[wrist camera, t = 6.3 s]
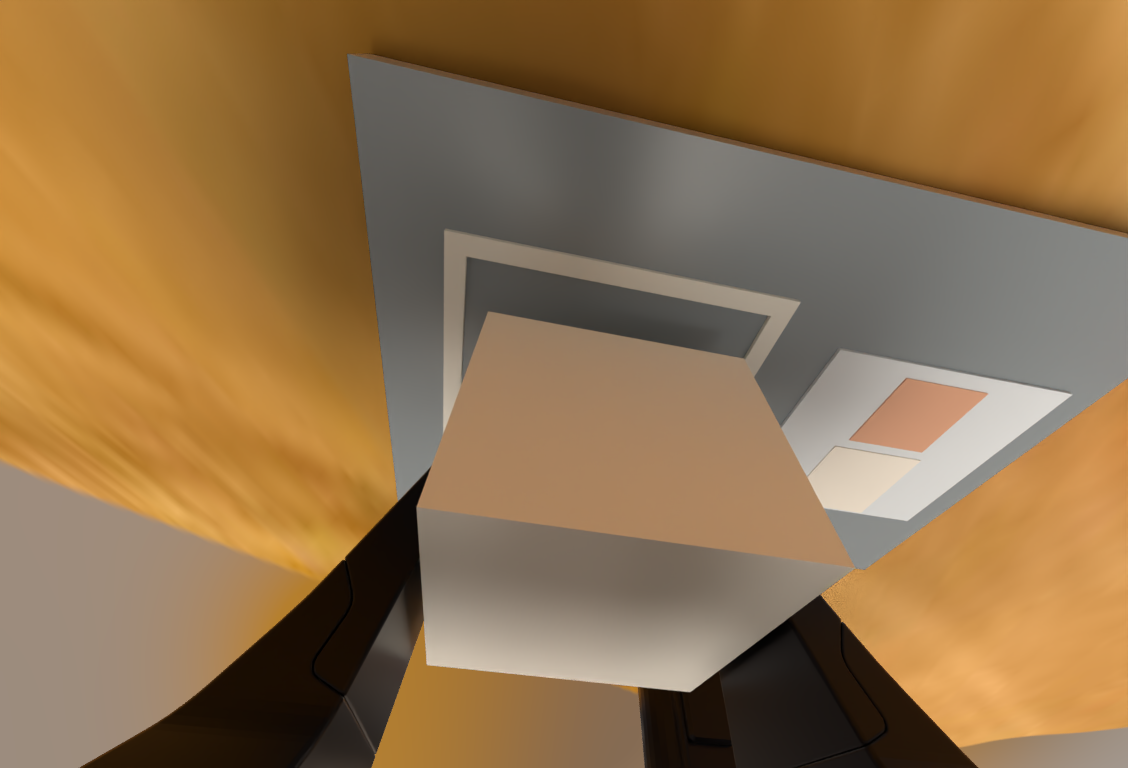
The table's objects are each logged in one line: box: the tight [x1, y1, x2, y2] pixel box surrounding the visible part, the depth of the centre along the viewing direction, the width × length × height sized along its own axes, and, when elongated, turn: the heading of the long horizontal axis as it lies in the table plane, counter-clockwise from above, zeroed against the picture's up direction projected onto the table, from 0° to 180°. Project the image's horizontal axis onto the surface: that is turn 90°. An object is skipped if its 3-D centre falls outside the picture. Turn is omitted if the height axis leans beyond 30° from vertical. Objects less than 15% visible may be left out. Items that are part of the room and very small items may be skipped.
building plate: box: [347, 54, 1128, 570], centre depth 13 cm, size 14×20×1 cm
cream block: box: [416, 311, 855, 692], centre depth 9 cm, size 6×6×5 cm
